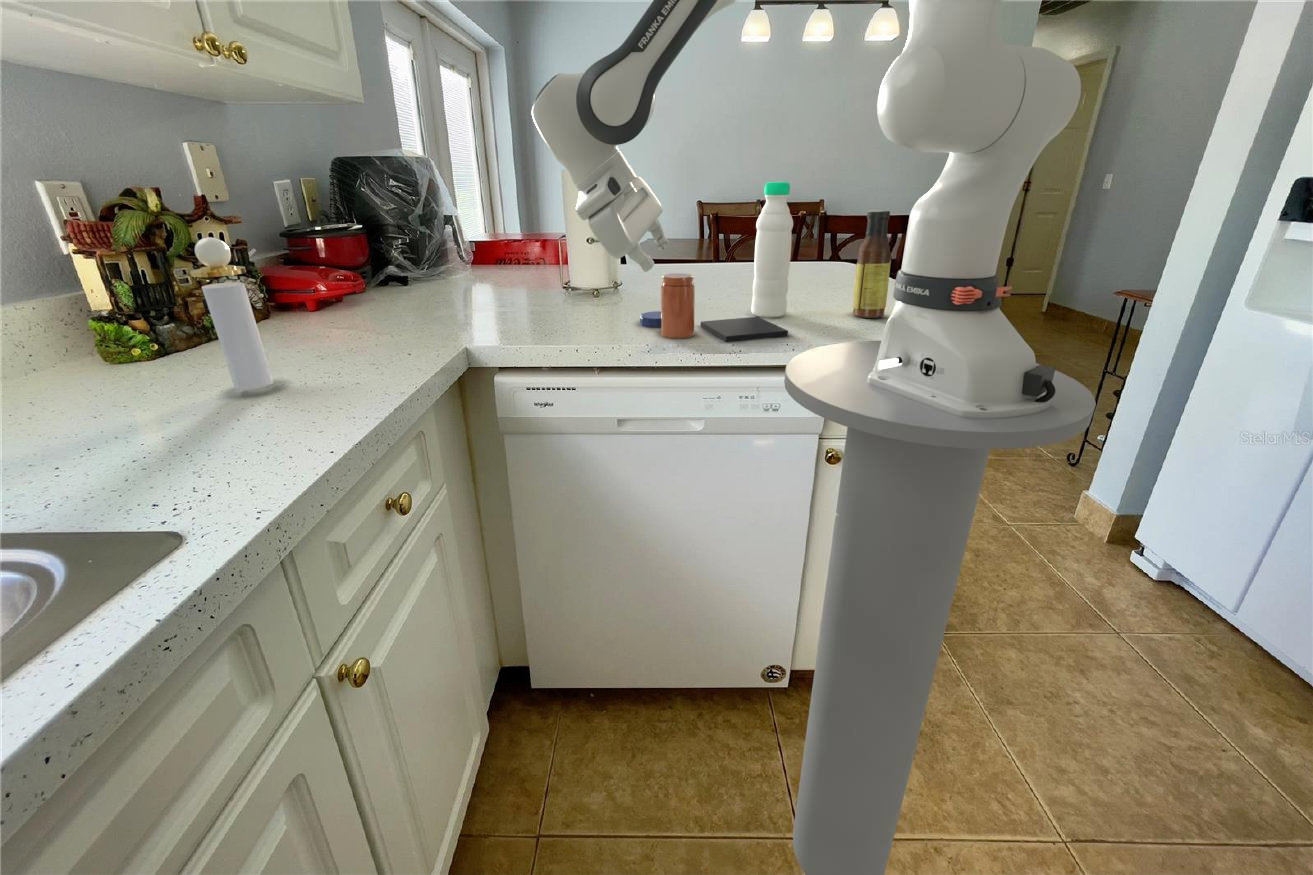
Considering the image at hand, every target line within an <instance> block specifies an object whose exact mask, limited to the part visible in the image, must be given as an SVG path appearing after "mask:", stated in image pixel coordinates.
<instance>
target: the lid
mask: <svg viewBox="0 0 1313 875" xmlns="http://www.w3.org/2000/svg"><path fill="white" fill-rule="evenodd" d="M639 323H640V325H641V326H643V327H647V328H657V329H658V328H661V310H659V311H658V310H655V311H654V310H653V311H647V312H643V313H641V314H640V318H639Z"/></svg>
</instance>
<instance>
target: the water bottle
mask: <svg viewBox="0 0 1313 875" xmlns="http://www.w3.org/2000/svg"><path fill="white" fill-rule="evenodd" d="M763 189H764V190H763V192H764V198H765V204H764V205H763V207H762V209H761V210H760V211H761V212H760V214H759V216H758V218H757V220H756V223H755V229H756V236H755V242H754V243H755V244H754V245H755V246H754V258H753V259H754V260H753V261H754V262H753V275H754V277H753V281H752V299H751V310H750V311H751V313H752V315H754V316H755V317H759V318H780V317H783V316H784V315H786V313H787V308H788V306H787V305H788V302H787V301H788V300H787V295H788V290H789V273H790V266H791V265H790V264H791V254H792V241H793V240H792V237H793V236H792V230H793V227H794V220H793V217H792V214H791V213H790V212H791V211H790V207H789V205H788V202H787V200H788V198H789V195H790V192H791V185H790V183H789V182H788V181H768V182H766V183H765V184H764V188H763Z"/></svg>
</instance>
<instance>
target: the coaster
mask: <svg viewBox="0 0 1313 875" xmlns="http://www.w3.org/2000/svg"><path fill="white" fill-rule="evenodd" d="M700 328H701V329H702V328H703V329H704V330H705V331H707V332H709V333H710V334H712V335H714V336H716V337H717V338H719V339H720V340H722V341H723V342H725V343H731V342H740V341H748V340H750V341H751V340H761V339H771V338H781V337H788V336H789V330H787V329H786V328H784V327H781V326H780V325H777V324H775V323H773V322H771V321H768V320H766V319H763V317H759V316H749V317H736V318H726V319H715V320H714V319H713V320H702V321H700Z"/></svg>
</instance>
